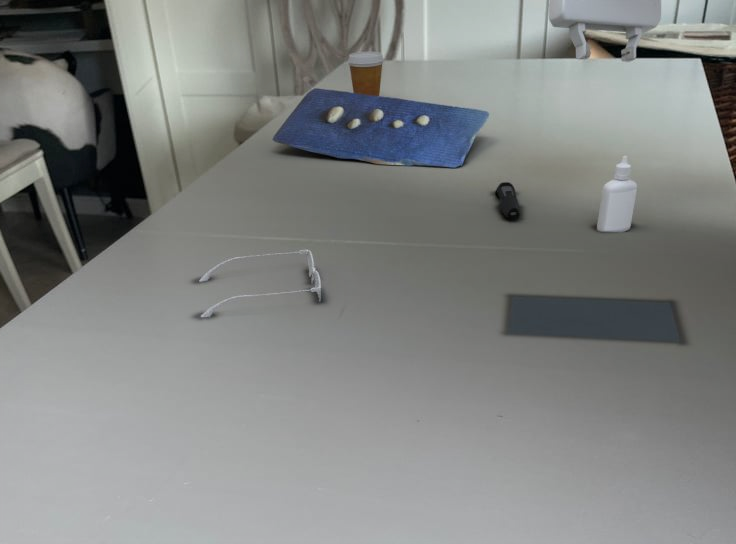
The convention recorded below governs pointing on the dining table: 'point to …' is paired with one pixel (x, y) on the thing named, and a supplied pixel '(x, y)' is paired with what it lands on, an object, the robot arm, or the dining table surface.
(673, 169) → the dining table surface
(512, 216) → the electric trimmer
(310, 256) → the eyeglasses
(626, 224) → the eye dropper bottle
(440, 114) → the mat
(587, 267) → the dining table surface
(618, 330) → the mat
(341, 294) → the dining table surface
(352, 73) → the disposable coffee cup
